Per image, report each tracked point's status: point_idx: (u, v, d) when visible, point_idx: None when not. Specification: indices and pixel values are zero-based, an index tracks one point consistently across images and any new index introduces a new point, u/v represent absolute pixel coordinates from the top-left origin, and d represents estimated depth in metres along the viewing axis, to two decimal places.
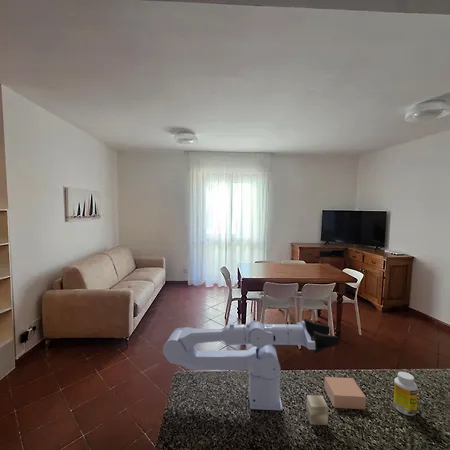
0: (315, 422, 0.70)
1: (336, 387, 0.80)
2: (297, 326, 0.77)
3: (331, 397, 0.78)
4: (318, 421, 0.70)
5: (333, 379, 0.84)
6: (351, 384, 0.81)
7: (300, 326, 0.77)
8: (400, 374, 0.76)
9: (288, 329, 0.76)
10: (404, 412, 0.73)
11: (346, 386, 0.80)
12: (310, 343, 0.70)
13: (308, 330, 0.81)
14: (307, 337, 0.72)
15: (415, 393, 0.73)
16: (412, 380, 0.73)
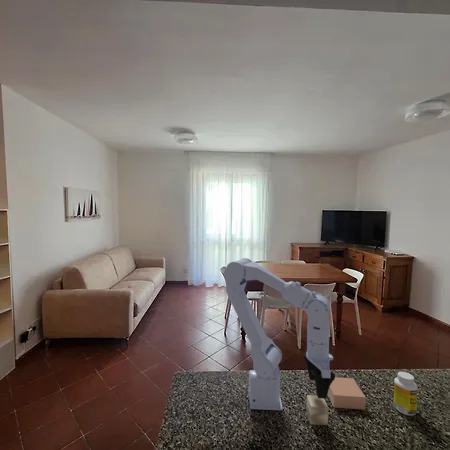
0: (315, 422, 0.70)
1: (336, 387, 0.80)
2: (328, 351, 0.71)
3: (331, 397, 0.79)
4: (318, 421, 0.70)
5: None
6: (352, 384, 0.81)
7: (328, 354, 0.71)
8: (400, 374, 0.76)
9: (328, 343, 0.70)
10: (404, 412, 0.73)
11: (346, 386, 0.80)
12: (329, 373, 0.64)
13: None
14: None
15: (415, 393, 0.73)
16: (412, 380, 0.73)
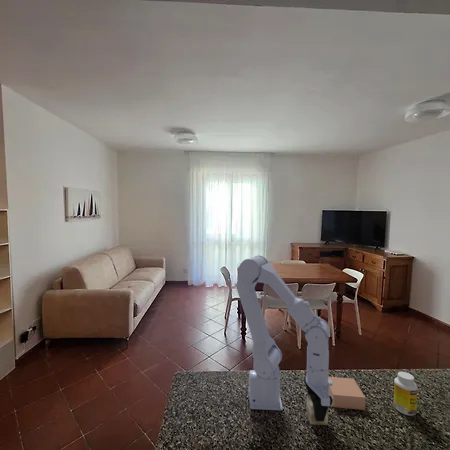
0: (315, 422, 0.70)
1: (336, 387, 0.80)
2: None
3: None
4: (318, 421, 0.70)
5: (333, 379, 0.84)
6: (352, 384, 0.81)
7: (328, 380, 0.71)
8: (400, 374, 0.76)
9: (327, 369, 0.70)
10: (404, 412, 0.73)
11: (346, 386, 0.80)
12: (328, 401, 0.64)
13: None
14: (328, 394, 0.67)
15: (415, 393, 0.73)
16: (412, 380, 0.73)
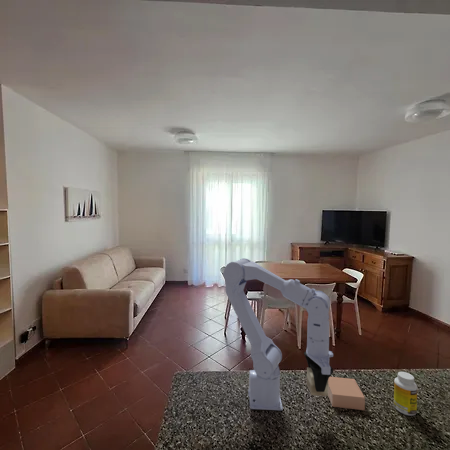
0: (315, 393, 0.70)
1: (335, 387, 0.80)
2: (328, 348, 0.71)
3: (330, 396, 0.79)
4: (318, 392, 0.69)
5: (334, 379, 0.84)
6: (352, 384, 0.81)
7: (328, 351, 0.71)
8: (400, 374, 0.76)
9: (328, 340, 0.70)
10: (404, 412, 0.73)
11: (346, 386, 0.80)
12: (329, 369, 0.64)
13: None
14: None
15: (415, 393, 0.73)
16: (412, 380, 0.73)
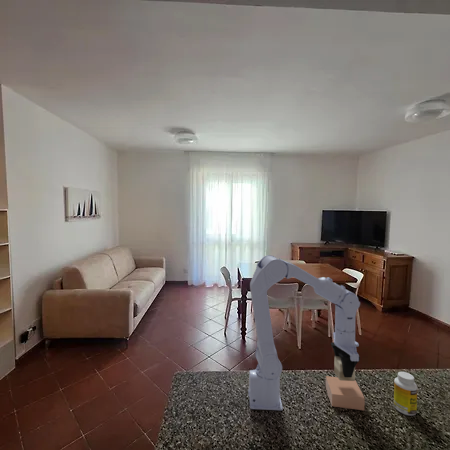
0: (343, 378, 0.78)
1: (335, 386, 0.80)
2: None
3: (330, 396, 0.79)
4: (346, 377, 0.78)
5: (334, 379, 0.84)
6: (352, 385, 0.81)
7: (354, 341, 0.79)
8: (400, 374, 0.76)
9: (354, 331, 0.78)
10: (404, 412, 0.73)
11: (346, 386, 0.80)
12: (357, 357, 0.73)
13: None
14: (356, 352, 0.75)
15: (415, 393, 0.73)
16: (412, 380, 0.73)
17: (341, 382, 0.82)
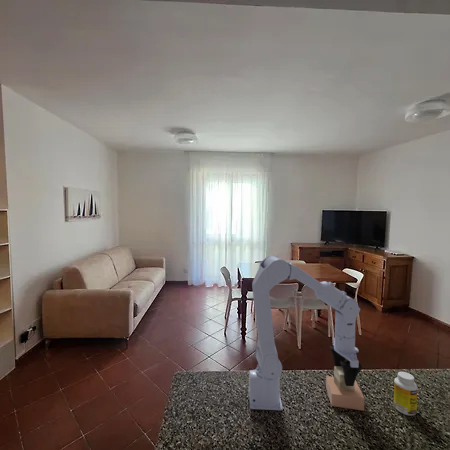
0: (343, 389, 0.78)
1: (335, 386, 0.80)
2: (354, 344, 0.79)
3: (329, 396, 0.79)
4: (346, 388, 0.78)
5: None
6: None
7: (354, 347, 0.79)
8: (400, 374, 0.76)
9: (354, 337, 0.78)
10: (404, 412, 0.73)
11: None
12: (357, 363, 0.73)
13: None
14: (356, 358, 0.75)
15: (415, 393, 0.73)
16: (412, 380, 0.73)
17: None
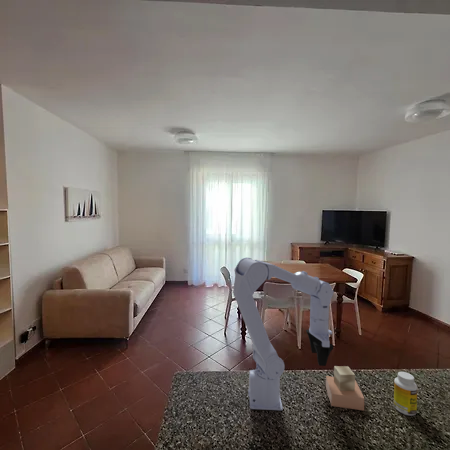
0: (343, 388, 0.78)
1: (335, 386, 0.80)
2: (328, 327, 0.83)
3: (329, 396, 0.79)
4: (346, 387, 0.78)
5: None
6: None
7: None
8: (400, 374, 0.76)
9: (328, 319, 0.82)
10: (404, 412, 0.73)
11: None
12: (328, 343, 0.76)
13: None
14: (328, 338, 0.78)
15: (415, 393, 0.73)
16: (412, 380, 0.73)
17: None
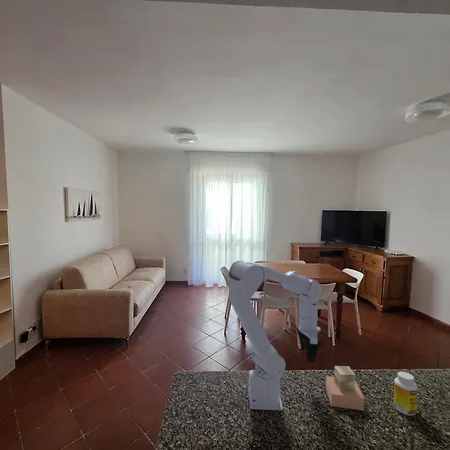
0: (344, 388, 0.78)
1: (335, 386, 0.80)
2: (316, 324, 0.85)
3: (329, 396, 0.79)
4: (346, 387, 0.78)
5: None
6: None
7: (316, 327, 0.85)
8: (400, 374, 0.76)
9: (316, 317, 0.83)
10: (404, 412, 0.73)
11: None
12: (316, 340, 0.78)
13: None
14: (316, 335, 0.80)
15: (415, 393, 0.73)
16: (412, 380, 0.73)
17: None
